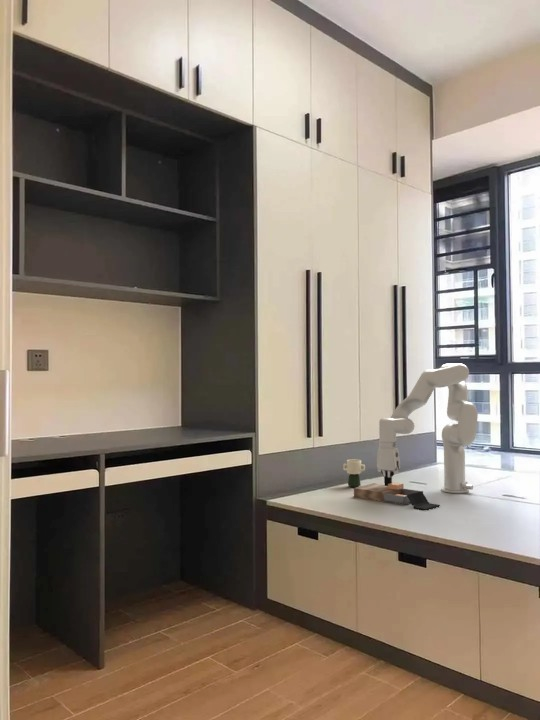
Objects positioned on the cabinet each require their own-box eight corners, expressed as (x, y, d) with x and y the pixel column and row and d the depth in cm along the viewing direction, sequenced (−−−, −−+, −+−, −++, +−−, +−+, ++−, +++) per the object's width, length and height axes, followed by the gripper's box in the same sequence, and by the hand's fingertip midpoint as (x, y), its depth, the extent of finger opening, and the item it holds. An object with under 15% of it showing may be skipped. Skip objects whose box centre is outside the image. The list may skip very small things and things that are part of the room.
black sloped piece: (430, 507, 251) (417, 486, 256) (417, 517, 254) (404, 495, 259) (442, 506, 260) (429, 486, 265) (428, 515, 263) (416, 495, 268)
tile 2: (403, 488, 280) (403, 483, 280) (397, 489, 276) (397, 485, 276) (394, 486, 283) (393, 482, 283) (387, 488, 279) (387, 484, 279)
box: (423, 499, 275) (423, 491, 275) (404, 505, 263) (404, 496, 263) (403, 496, 282) (403, 488, 282) (384, 501, 270) (384, 493, 270)
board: (403, 496, 282) (403, 487, 282) (384, 501, 270) (384, 492, 270) (373, 491, 293) (373, 483, 293) (353, 496, 281) (353, 488, 281)
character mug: (366, 486, 307) (366, 459, 307) (364, 488, 300) (363, 461, 300) (344, 485, 310) (344, 459, 310) (341, 487, 304) (341, 461, 304)
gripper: (406, 445, 280) (406, 486, 280) (378, 443, 291) (378, 482, 290) (397, 447, 275) (397, 489, 275) (369, 444, 285) (369, 484, 285)
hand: (388, 485), depth 283 cm, fingers closed
